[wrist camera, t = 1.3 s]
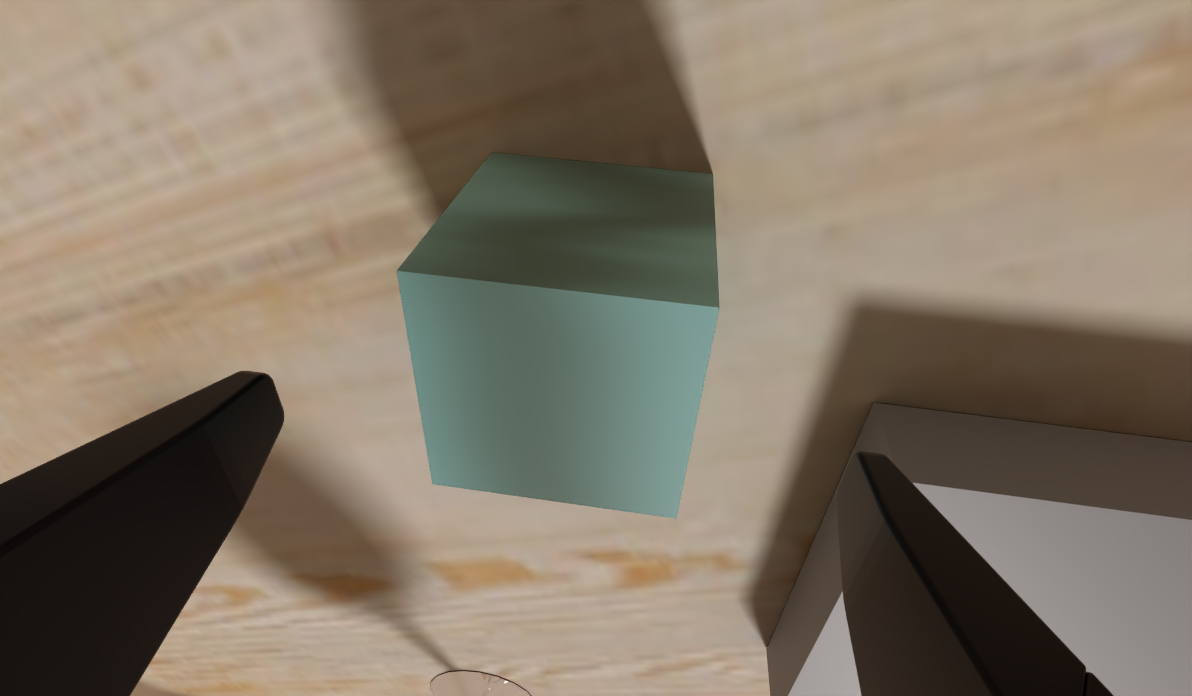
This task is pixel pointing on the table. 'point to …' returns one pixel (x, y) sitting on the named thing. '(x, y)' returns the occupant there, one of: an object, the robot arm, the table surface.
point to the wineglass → (473, 685)
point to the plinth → (1027, 544)
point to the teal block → (565, 330)
